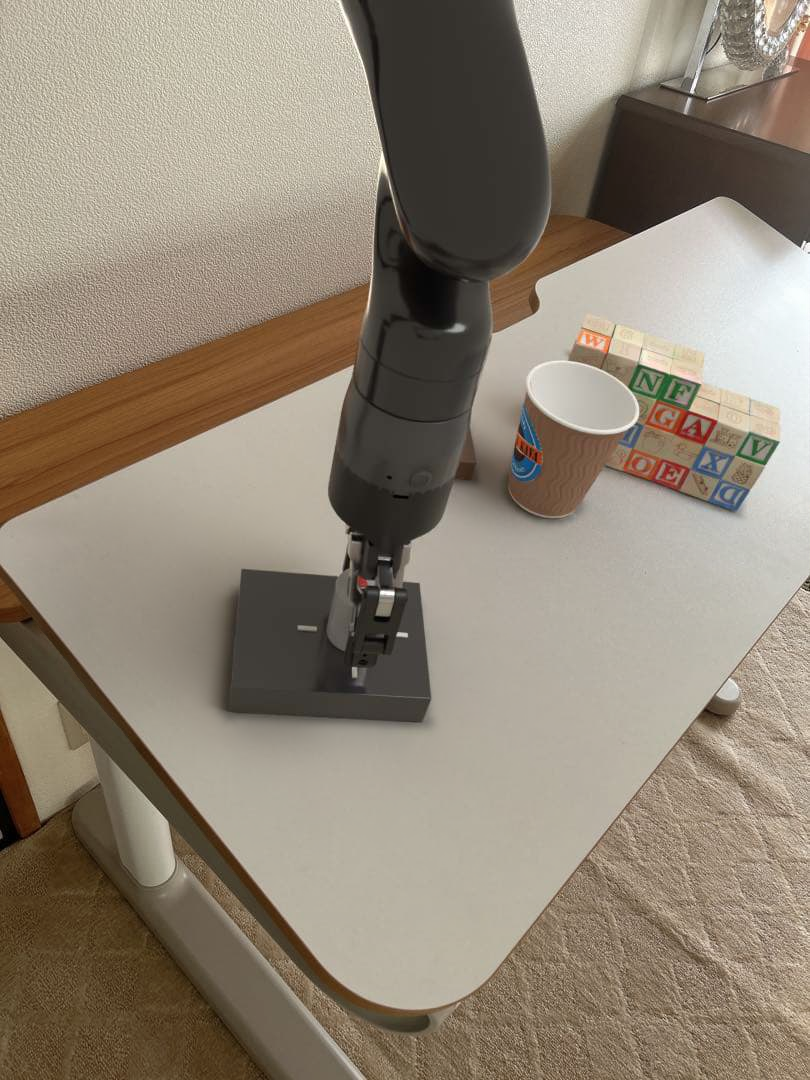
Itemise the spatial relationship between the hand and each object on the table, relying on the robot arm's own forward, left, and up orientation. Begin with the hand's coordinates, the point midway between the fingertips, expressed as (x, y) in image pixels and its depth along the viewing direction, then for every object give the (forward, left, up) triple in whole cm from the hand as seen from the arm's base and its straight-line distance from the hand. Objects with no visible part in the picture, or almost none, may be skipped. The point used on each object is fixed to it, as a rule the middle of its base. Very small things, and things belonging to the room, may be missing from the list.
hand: (357, 618), depth 64 cm
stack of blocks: (+31, +28, -5) cm, 42 cm away
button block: (+7, +27, -5) cm, 28 cm away
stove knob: (0, 0, -2) cm, 2 cm away
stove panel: (-2, 0, -5) cm, 5 cm away
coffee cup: (+19, +21, -5) cm, 29 cm away
